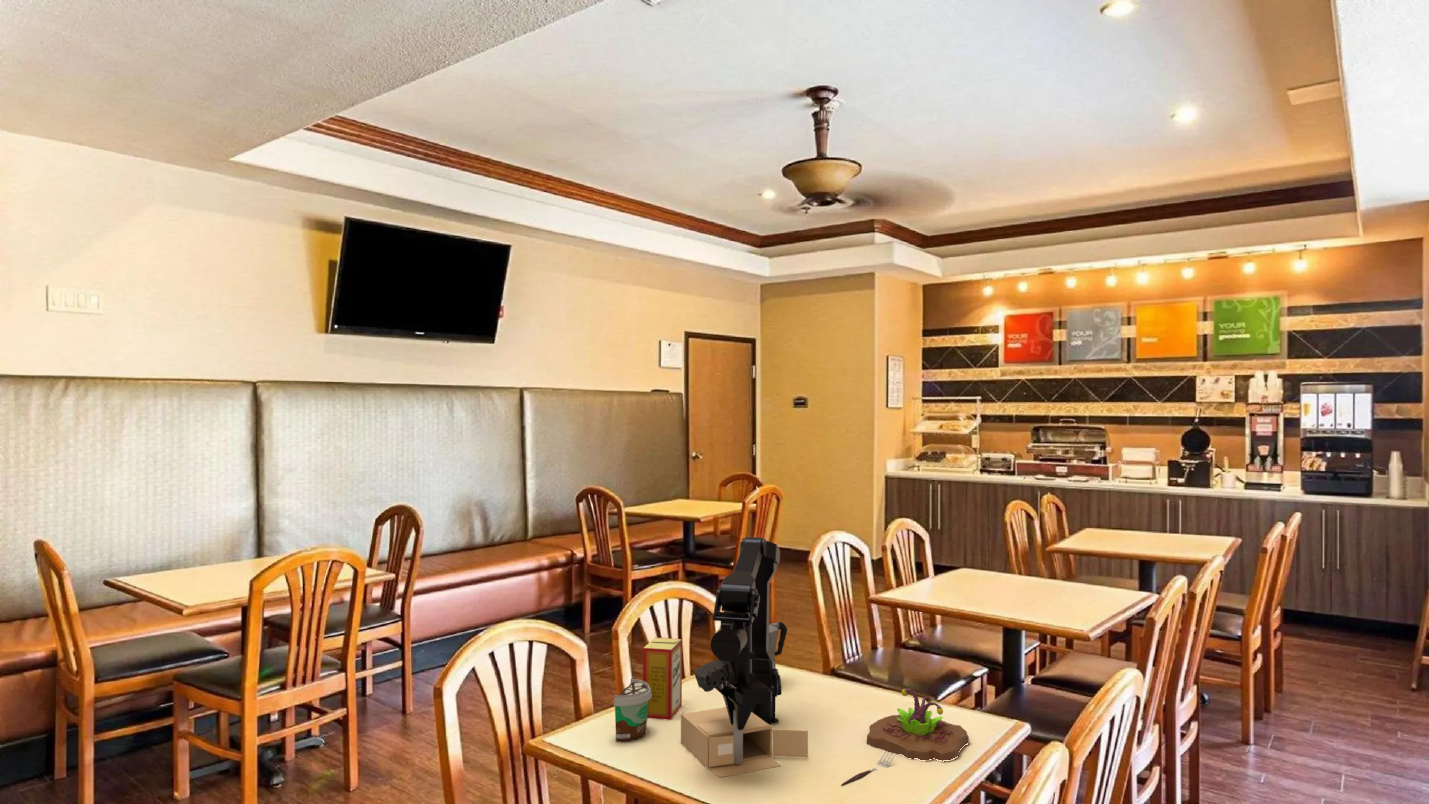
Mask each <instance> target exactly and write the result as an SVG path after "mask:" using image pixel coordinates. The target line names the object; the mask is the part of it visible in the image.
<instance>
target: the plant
mask: <svg viewBox="0 0 1429 804" xmlns="http://www.w3.org/2000/svg"><path fill="white" fill-rule="evenodd" d="M910 693H911V694H912V696H913V698H914V700H913V701H914V704H913V705H914V706H913V707H914V708H912V707H909V708H908V710H907V711H906V710H904V709H902V708H898V707H897V708H896V711H897V713H898V714H892V715H889V716H886V717H885V716H884V717H883V718H880V719H878V720H876V721H874V722H873V723H872V724H870V725H869V732H868V734H867V735H866V745H868V746H870V747H871V748H875V749H878V748H879V749H878V750H883V751H884V752H887V751H888V753H890V752H891V753H890V754H894V753H895V754H894V755H898V754H902V755H904V756H905V757H904V756H903V757H904V758H906V757H907V758H918V759H920V760H929V759H933V758H935V759H938V760H942V761H943V760H951V759H953V758H955V757H957V756H958V754H959V755H960V753H959V751H960V749H961V748H962V747H963V746H964V745H965V744H967V743H969V742H970V741H969V740H970V738H969V735H968V731H967V730H966V729H964V728H963V727H962V725H958V724H953V723H949V722H947V721H943V718H944V716H942V715H943V713H944V709H943V707H942V706H940V705H939V704H938V703H936V702H933V698H932V697H931V696H929V695H925V696H924V697H922V700H921V704H920V701H919V697H918V695H917V692H915V690H913V689H912V688H909V687H907V688H906V687H905V688H903V689H902V690H901V695H902V696H903V697H908V695H909V694H910ZM932 706H935V707H936V714H938V715H940V716H937V717H933V718H932V716H933V711H932V710H928V709H929V708H930V707H932ZM969 744H970V743H969ZM960 752H961V751H960ZM902 755H901V756H902ZM958 757H959V756H958ZM907 758H906V759H907Z"/></svg>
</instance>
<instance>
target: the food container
mask: <svg viewBox="0 0 1429 804" xmlns="http://www.w3.org/2000/svg"><path fill="white" fill-rule="evenodd" d="M651 697H652V694H651V689H650V687H649V684H648V683H646V682H644V681H643V679H642V680H641V679H636V678H630V683H629V685H628V686H626V687H625V688H624V689H623V690H622V691H621V693H620V694H614V699H613V701H614V702H613V706H614V712H615V713H614V717H615V719H614V720H615V742H616V743H627V742H634V741H638V740H641V739H643V738H644V737H645V736H646V735H647V724H648V718H647V712H648V700H649V699H650V698H651Z"/></svg>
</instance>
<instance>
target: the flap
mask: <svg viewBox="0 0 1429 804" xmlns="http://www.w3.org/2000/svg"><path fill="white" fill-rule="evenodd" d="M742 763H743V730H738V728H737V722H736V714H735V710H734V711H733V735H728V736H720V737H712V738H709V767H712V766H720V765H727V764H737V765H739V764H742Z"/></svg>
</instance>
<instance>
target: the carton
mask: <svg viewBox="0 0 1429 804" xmlns="http://www.w3.org/2000/svg"><path fill="white" fill-rule="evenodd" d="M728 735H733V725H732V724H731V723H730V719H729V715H728V712H727V708H726V706H725V707H718V708H711V709H704V710H698V711H691V712H685V713H680V744H681V745H682V746H683V747H685V749H687V750H688V751H689V752H690V753H691V754H692V755H693V756H694V757H695V758H696V759H697V760H698V761H699V762H700V763H701V764H702V765H703V766H704V767H705V768H706V769H709V770H711V771H712V773H713V774H715V775H716V776H717V777H718V778H725V777H729V775H731V776H735V775H736V776H737V775H741V774H746V773H745V772H747V773H750V772H751V773H752V772H758V771H761V770H767V769H772V768H778V767H781V766H782V764H781V763H779V762H778V761H777V760H775V759H774V758H773V757H786V758H788V757H789V758H807V759H808V758H809V731H808V730H805V729H804V730H803V729H785V728H783V729H782V728H781V729H780V728H773V726H772V725H771V724H767V723H766V722H765V721H763V720H762V719H761V718H759V717H758V716H756V715H755V714H754V713H752V712H751V714H750V716H749V719H748V721H747V723H746V725H745V727H744V729H743V763H742V764H739V765H737V764H727V765H720V766H712V767H709V738H712V737H720V736H728Z"/></svg>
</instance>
